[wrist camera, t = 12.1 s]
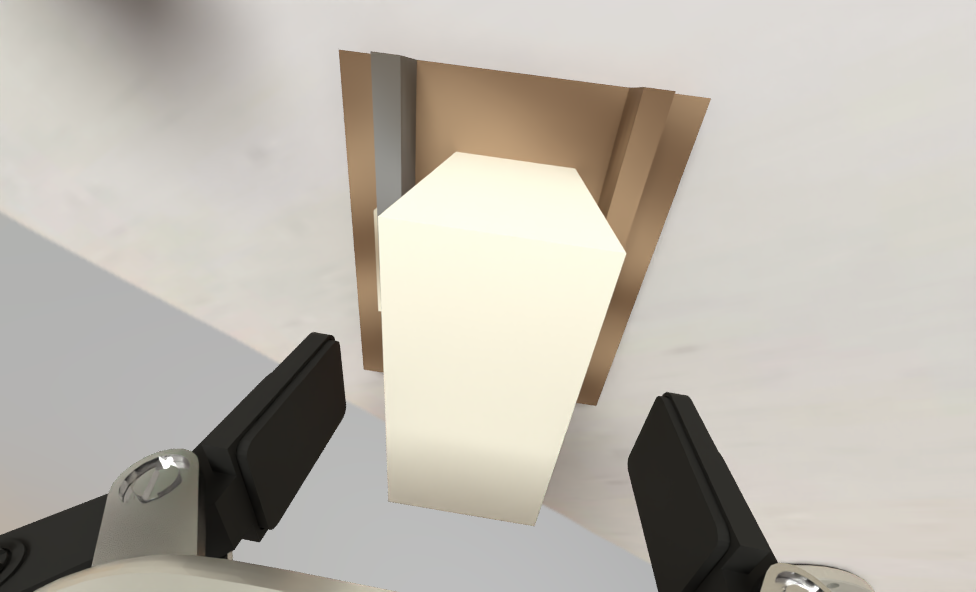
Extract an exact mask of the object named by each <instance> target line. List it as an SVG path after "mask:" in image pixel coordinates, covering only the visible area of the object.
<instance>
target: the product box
mask: <svg viewBox="0 0 976 592" xmlns="http://www.w3.org/2000/svg"><path fill="white" fill-rule="evenodd" d="M378 233H379V260H380V287H381V314H382V340H383V367H384V394H385V421H386V448H387V475H388V501H389V502H395V503H400V504H406V505H412V506H418V507H424V508H430V509H436V510H442V511H448V512H454V513H459V514H466V515H471V516H477V517H483V518H489V519H495V520H501V521H507V522H513V523H519V524H525V525H531V526H534V525H535V523H536V520H537V517H538V514H539V511H540V508H541V505H542V502H543V499H544V496H545V493H546V490H547V487H548V484H549V481H550V478H551V475H552V472H553V470H554V467H555V464H556V461H557V458H558V455H559V452H560V449H561V446H562V443H563V440H564V437H565V434H566V431H567V428H568V425H569V422H570V419H571V416H572V413H573V410H574V407H575V404H576V401H577V398H578V395H579V392H580V389H581V386H582V383H583V381H584V378H585V375H586V372H587V369H588V366H589V363H590V360H591V357H592V354H593V351H594V348H595V345H596V342H597V339H598V336H599V333H600V330H601V327H602V324H603V321H604V318H605V315H606V312H607V309H608V306H609V303H610V300H611V297H612V295H613V292H614V289H615V286H616V283H617V280H618V277H619V274H620V271H621V268H622V265H623V262H624V259H625V256H626V252H625V250H624V248H623V247H622V245H621V243H620V242H619V240H618V239H617V237H616V235H615V234H614V232H613V230H612V229H611V227H610V225H609V224H608V222H607V220H606V219H605V217H604V215H603V214H602V212H601V210H600V209H599V207H598V205H597V204H596V202H595V200H594V199H593V197H592V195H591V194H590V192H589V190H588V189H587V187H586V185H585V184H584V182H583V181H582V179H581V177H580V176H579V174H578V172H577V171H576V169H574V168H567V167H560V166H553V165H546V164H539V163H532V162H525V161H518V160H511V159H504V158H497V157H490V156H483V155H476V154H468V153H461V152H455V153H454V154H453V155H452V156H450V157H449V158H448V159H447V160H446V161H444V162H443V163H442V164H441V165H440V166H438V167H437V168H436V169H435V170H434V171H432V172H431V173H430V174H429V175H427V176H426V177H425V178H424V179H423V180H421V181H420V182H419V183H418V184H417V185H415V186H414V187H413V188H412V189H411V190H409V191H408V192H407V193H406V194H405V195H403V196H402V197H401V198H400V199H399V200H397V201H396V202H395V203H394V204H393V205H391V206H390V207H389V208H388V209H387V210H385V211H384V212H383V213H382V214H381V215H379V216H378Z"/></svg>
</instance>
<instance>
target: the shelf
mask: <svg viewBox="0 0 976 592" xmlns="http://www.w3.org/2000/svg"><path fill="white" fill-rule="evenodd" d="M339 58H340V71H341V84H342V97H343V109H344V122H345V135H346V148H347V161H348V174H349V186H350V199H351V212H352V225H353V238H354V251H355V264H356V276H357V289H358V302H359V315H360V328H361V341H362V353H363V366H364V370H371V371H377V372H383V373H384V367H383V340H382V314H381V287H380V260H379V233H378V216H379V215H381V214H382V213H383V212H384V211H385V210H387V209H388V208H389V207H390V206H391V205H393V204H394V203H395V202H396V201H397V200H399V199H400V198H401V197H402V196H403V195H405V194H406V193H407V192H408V191H409V190H411V189H412V188H413V187H414V186H415V185H417V184H418V183H419V182H420V181H421V180H423V179H424V178H425V177H426V176H427V175H429V174H430V173H431V172H432V171H434V170H435V169H436V168H437V167H438V166H440V165H441V164H442V163H443V162H444V161H446V160H447V159H448V158H449V157H450V156H452V155H453V154H454V153H455V152H461V153H468V154H476V155H483V156H490V157H497V158H504V159H511V160H518V161H525V162H532V163H539V164H546V165H553V166H560V167H567V168H574V169H576V171H577V172H578V174H579V176H580V177H581V179H582V181H583V182H584V184H585V185H586V187H587V189H588V190H589V192H590V194H591V195H592V197H593V199H594V200H595V202H596V204H597V205H598V207H599V209H600V210H601V212H602V214H603V215H604V217H605V219H606V220H607V222H608V224H609V225H610V227H611V229H612V230H613V232H614V234H615V235H616V237H617V239H618V240H619V242H620V243H621V245H622V247H623V248H624V250H625V252H626V256H625V259H624V262H623V265H622V268H621V271H620V274H619V277H618V280H617V283H616V286H615V289H614V292H613V295H612V297H611V300H610V303H609V306H608V309H607V312H606V315H605V318H604V321H603V324H602V327H601V330H600V333H599V336H598V339H597V342H596V345H595V348H594V351H593V354H592V357H591V360H590V363H589V366H588V369H587V372H586V375H585V378H584V381H583V383H582V386H581V389H580V392H579V395H578V398H577V401H576V403H582V404H588V405H594V406H596V405H597V402H598V399H599V397H600V394H601V391H602V389H603V386H604V383H605V381H606V378H607V375H608V373H609V370H610V367H611V365H612V362H613V359H614V357H615V354H616V351H617V349H618V346H619V343H620V341H621V338H622V335H623V333H624V330H625V327H626V324H627V322H628V319H629V316H630V314H631V311H632V308H633V306H634V303H635V300H636V298H637V295H638V292H639V290H640V287H641V284H642V282H643V279H644V276H645V274H646V271H647V268H648V266H649V263H650V260H651V258H652V255H653V252H654V250H655V247H656V244H657V242H658V239H659V236H660V234H661V231H662V228H663V225H664V223H665V220H666V217H667V215H668V212H669V209H670V207H671V204H672V201H673V199H674V196H675V193H676V191H677V188H678V185H679V183H680V180H681V177H682V175H683V172H684V169H685V167H686V164H687V161H688V159H689V156H690V153H691V151H692V148H693V145H694V143H695V140H696V137H697V135H698V132H699V129H700V126H701V124H702V121H703V118H704V116H705V113H706V110H707V108H708V105H709V102H710V100H711V98H703V97H695V96H688V95H680V94H675V92H676V91H669V90H661V89H654V88H646V87H639V88H627V87H619V86H612V85H604V84H596V83H589V82H581V81H573V80H566V79H558V78H551V77H543V76H535V75H528V74H520V73H512V72H505V71H497V70H490V69H482V68H474V67H467V66H459V65H451V64H444V63H436V62H428V61H421V60H415V59H412V58H408V57H404V56H401V55H394V54H386V53H379V52H371V54H367V53H360V52H352V51H345V50H339Z"/></svg>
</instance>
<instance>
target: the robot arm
mask: <svg viewBox="0 0 976 592" xmlns="http://www.w3.org/2000/svg"><path fill="white" fill-rule="evenodd" d="M345 410H346V401H345V391H344V381H343V371H342V361H341V351H340V344H339V342H338V341H335V338H334V337H333V336H332V335H327V334H321V333H316V332H313V333H311V334H309V335H308V336H307V337H306V338H305V339H304V340H303V341H302V342H301V343H300V344H299V345H298V346H297V347H296V348H295V350H294V351H293V352H292V353H291V354H290V355H289V356H288V357H287V358H286V359H285V360H284V361H283V362H282V363H281V364H280V365H279V366H278V367H277V368H276V369H275V370H274V371H273V372H272V373H270V374H269V375H268V376H266V377H265V378H264V379H263V380H262V381H261V382H260V383H259V384H258V385H257V386H256V387H255V389H254V390H252V391H251V392H250V393H249V394H248V396H247V397H245V399H243V400H242V401H241V402H240V404H239V405H238V406H237V407H236V408H235V409H234V410H233V411H232V412H231V413H230V414H229V415H228V416H227V417H226V418H225V419H224V420H223V421H222V422H221V423H220V424H219V425H218V426H217V427H216V428H215V429H214V430H213V431H212V432H211V433H210V434H209V435H208V436H207V437H206V438H205V439H204V440H203V441H202V442H201V443H200V444H199V445H198V446H197V447H196V448H195V449H194V450H193V451H189V450H186V449H169V450H164V451H160V452H157V453H154V454H152V455H149V456H147V457H145V458H143V459H141V460H140V461H138V462H136V463H134V464H133V465H131V466H130V467H129V468H128V469H126V470H125V471H124V472H123V473H122V474H121V475H120V476H119V477H118V478H117V479H116V481H115V482H114V483H113V484H112V486H111V489H110V491H109V493H108V494H106V495H103V496H100V497H98V498H95V499H93V500H90V501H88V502H85V503H82V504H80V505H77V506H75V507H72V508H69V509H67V510H64V511H62V512H59V513H57V514H54V515H51V516H49V517H46V518H44V519H41V520H38V521H36V522H33V523H31V524H28V525H25V526H23V527H21V528H18V529H15V530H12V531H10V532H7V533H5V534H2V535H0V592H396V591H390V590H386V589H381V588H376V587H370V586H366V585H361V584H356V583H351V582H346V581H341V580H335V579H331V578H325V577H320V576H315V575H310V574H305V573H300V572H295V571H290V570H284V569H279V568H273V567H267V566H262V565H256V564H250V563H245V562H239V561H233V555H232V551H233V550H235V548H236V546H237V545H238V544H239V542H240V541H241V539H245V540H250V541H256V542H260V541H261V540H262V538H263V536H264V535H265V533H266V532H267V530H268V529H269V530H272V529H274V528H275V527H276V525H277V524H278V523H279V521H280V520H281V518H282V516H283V515H284V513H285V511H286V510H287V508H288V507H289V505H290V503H291V502H292V500H293V498H294V497H295V495H296V494H297V492H298V490H299V488H300V487H301V485H302V484H303V482H304V480H305V479H306V477H307V476H308V474H309V473H310V471H311V469H312V468H313V466H314V464H315V463H316V461H317V460H318V458H319V456H320V454H321V453H322V451H323V450H324V448H325V447H326V445H327V443H328V442H329V440H330V438H331V437H332V435H333V433H334V432H335V430H336V429H337V427H338V425H339V424H340V422H341V420H342V419H343V417H344V414H345ZM628 472H629V476H630V480H631V484H632V488H633V492H634V496H635V500H636V504H637V508H638V512H639V516H640V520H641V524H642V528H643V532H644V536H645V540H646V544H647V548H648V552H649V556H650V560H651V564H652V568H653V572H654V576H655V580H656V584H657V588H658V592H875V591H874V590H873V589H872V587H871V586H870V585H869V584H868V583H867V582H866V581H865V580H864V579H862V578H860V577H858V576H856V575H854V574H852V573H849V572H846V571H843V570H840V569H835V568H830V567H824V566H813V565H791V564H787V563H778V562H777V560H776V558H775V556H774V554H773V552H772V550H771V549H770V547H769V545H768V543H767V541H766V539H765V537H764V535H763V533H762V531H761V530H760V528H759V526H758V524H757V522H756V520H755V518H754V516H753V514H752V512H751V510H750V509H749V507H748V505H747V503H746V501H745V499H744V497H743V495H742V493H741V491H740V490H739V488H738V486H737V484H736V482H735V480H734V478H733V476H732V474H731V472H730V470H729V469H728V467H727V465H726V463H725V461H724V459H723V457H722V456H721V454H720V453H719V452H718V450H717V448H716V446H715V444H714V442H713V440H712V439H711V437H710V435H709V433H708V431H707V429H706V427H705V425H704V423H703V421H702V419H701V417H700V416H699V414H698V412H697V410H696V408H695V406H694V404H693V402H692V400H691V399H690V397H688V396H687V395H681V394H675V393H669V392H666V393H664V394H663V396H658V397H657V398H656V399H655V402H654V404H653V406H652V408H651V410H650V412H649V414H648V417H647V419H646V421H645V423H644V425H643V427H642V430H641V432H640V434H639V436H638V438H637V440H636V442H635V445H634V447H633V449H632V451H631V453H630V455H629V458H628Z"/></svg>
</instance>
